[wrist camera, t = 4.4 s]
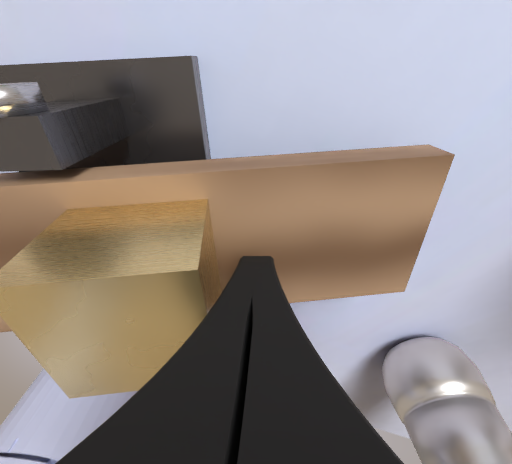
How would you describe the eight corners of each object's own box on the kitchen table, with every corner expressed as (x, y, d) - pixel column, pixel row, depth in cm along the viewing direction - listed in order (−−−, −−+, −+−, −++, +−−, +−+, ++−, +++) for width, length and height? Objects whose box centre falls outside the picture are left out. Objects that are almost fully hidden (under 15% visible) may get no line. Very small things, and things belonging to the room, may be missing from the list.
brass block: (222, 295, 12) (220, 381, 9) (113, 305, 12) (69, 398, 9) (207, 198, 10) (198, 269, 6) (67, 209, 9) (-23, 289, 6)
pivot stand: (228, 288, 19) (212, 370, 14) (95, 288, 20) (34, 365, 15) (197, 56, 11) (138, 50, 6) (-17, 67, 12) (-224, 68, 7)
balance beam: (365, 241, 17) (404, 291, 13) (-128, 285, 15) (-243, 356, 12) (390, 129, 13) (454, 154, 10) (-257, 171, 12) (-489, 221, 8)
